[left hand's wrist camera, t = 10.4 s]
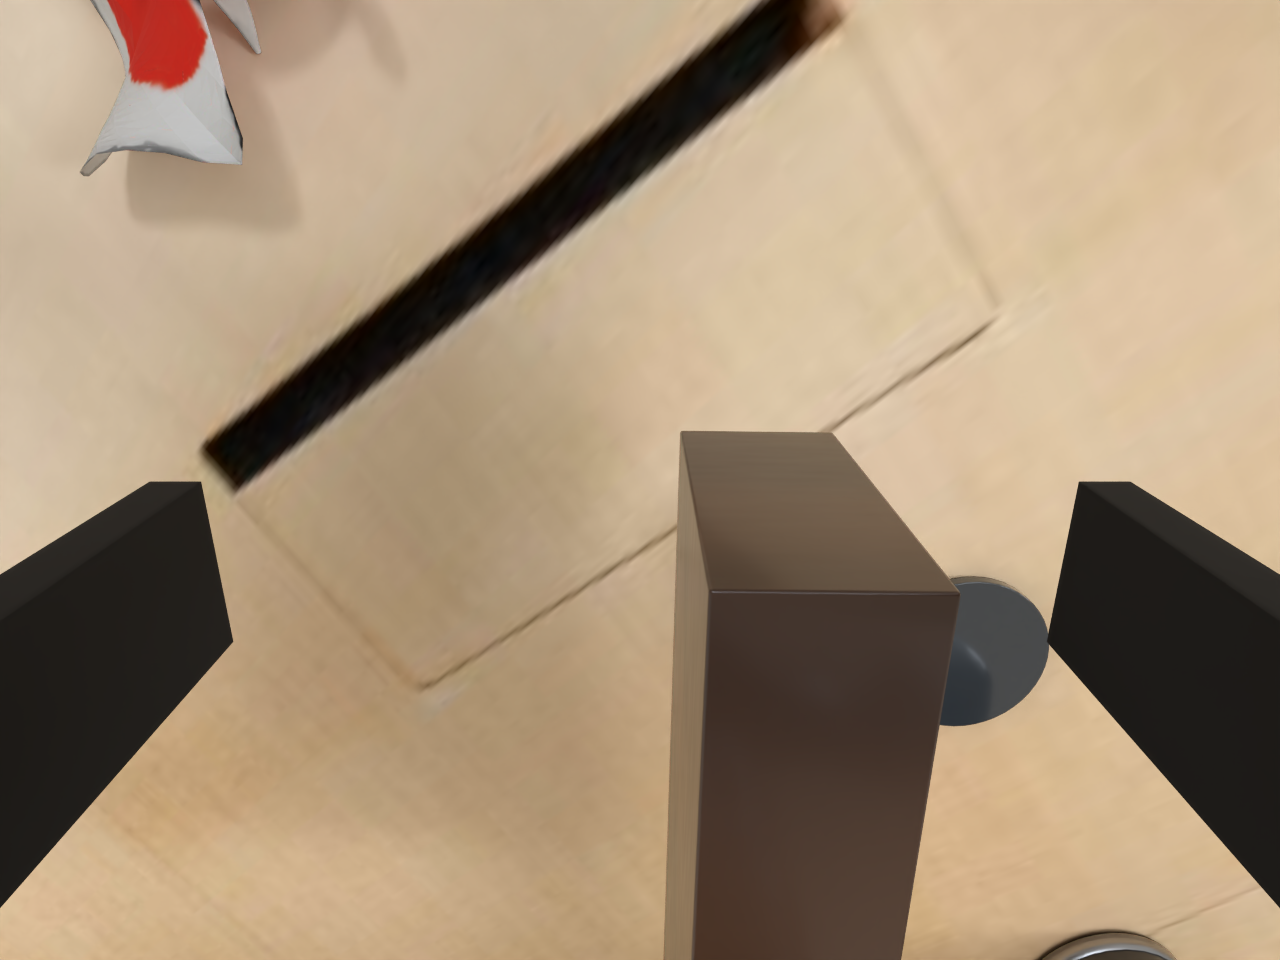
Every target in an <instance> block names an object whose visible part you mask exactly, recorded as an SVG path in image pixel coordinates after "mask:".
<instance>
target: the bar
mask: <svg viewBox="0 0 1280 960" xmlns="http://www.w3.org/2000/svg"><path fill="white" fill-rule="evenodd" d="M960 596H961V594H960V592H959V590H958V589H957V588H956V587H955V585H954V584H953V583H952V582H951V580H950V579H949V578H948V577H947V575H946V574H945V573H944V572H943V570H942V569H941V568H940V567H939V565H938V564H937V563H936V562H935V560H934V559H933V558H932V557H931V556H930V554H929V553H928V552H927V551H926V549H925V548H924V547H923V546H922V544H921V543H920V542H919V541H918V539H917V538H916V537H915V536H914V534H913V533H912V532H911V531H910V529H909V528H908V527H907V526H906V524H905V523H904V522H903V521H902V519H901V518H900V517H899V516H898V514H897V513H896V512H895V511H894V509H893V508H892V507H891V506H890V504H889V503H888V502H887V501H886V499H885V498H884V497H883V496H882V494H881V493H880V492H879V491H878V489H877V488H876V487H875V486H874V484H873V483H872V482H871V481H870V479H869V478H868V477H867V476H866V474H865V473H864V472H863V471H862V469H861V468H860V467H859V466H858V464H857V463H856V462H855V461H854V459H853V458H852V457H851V456H850V454H849V453H848V452H847V451H846V449H845V448H844V447H843V446H842V444H841V443H840V442H839V441H838V439H837V438H836V437H835V436H834V434H833V433H808V432H726V431H681V433H680V455H679V487H678V519H677V550H676V582H675V614H674V645H673V677H672V709H671V740H670V772H669V804H668V835H667V867H666V899H665V930H664V960H901V956H902V950H903V944H904V938H905V932H906V926H907V920H908V914H909V908H910V902H911V895H912V889H913V883H914V877H915V871H916V865H917V859H918V853H919V847H920V840H921V834H922V828H923V822H924V816H925V810H926V804H927V798H928V792H929V786H930V779H931V773H932V767H933V761H934V755H935V749H936V743H937V737H938V731H939V724H940V718H941V712H942V706H943V700H944V694H945V688H946V682H947V676H948V670H949V663H950V657H951V651H952V645H953V639H954V633H955V627H956V621H957V615H958V608H959V602H960Z"/></svg>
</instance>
